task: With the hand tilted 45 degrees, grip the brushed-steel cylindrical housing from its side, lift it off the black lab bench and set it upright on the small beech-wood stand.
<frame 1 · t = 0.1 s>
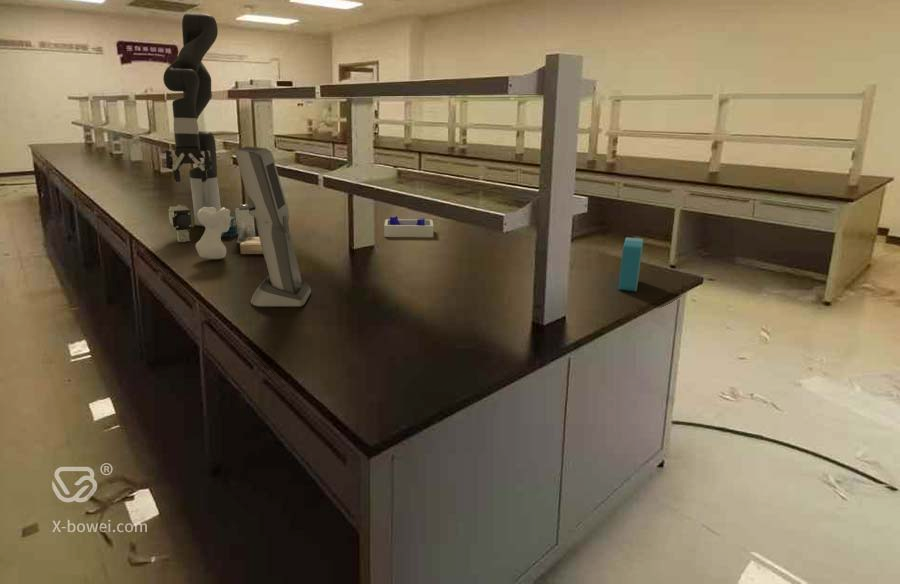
hand: (191, 182, 197), 17 cm above the worktop, tool pointing down, fingers open, 8 cm apart
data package: (628, 286, 154), on the worktop
pneumatic valve: (182, 242, 190), on the worktop
cable clip: (408, 234, 208), resting in clip tray
puzzle: (228, 235, 200), on the worktop
white lobed block: (218, 259, 171), on the worktop
stand: (261, 249, 181), on the worktop
housing: (247, 242, 190), on the worktop
clip tray: (408, 233, 207), on the worktop
thermal camera: (283, 300, 138), on the worktop
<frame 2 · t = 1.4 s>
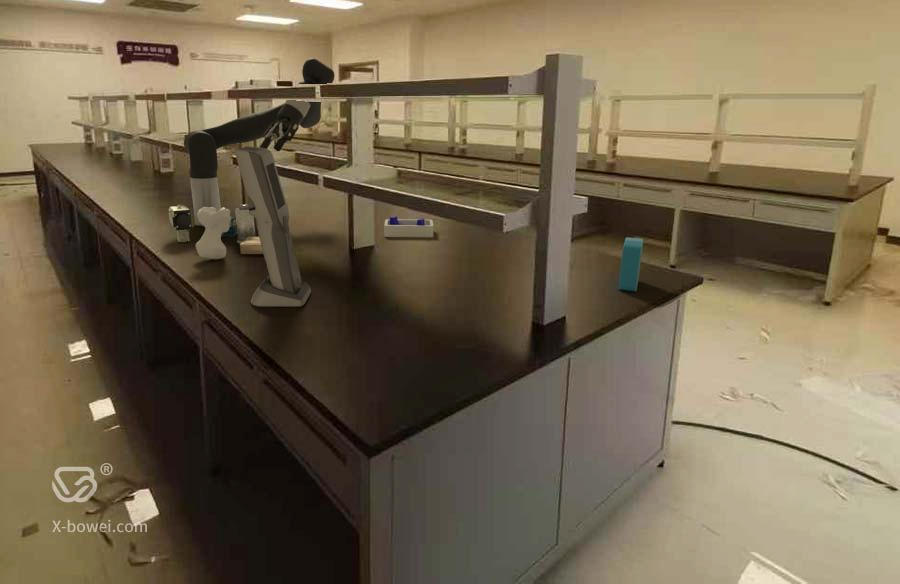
hand: (268, 149, 188), 29 cm above the worktop, tool tilted 40°, fingers open, 8 cm apart
nothing on the worktop moved.
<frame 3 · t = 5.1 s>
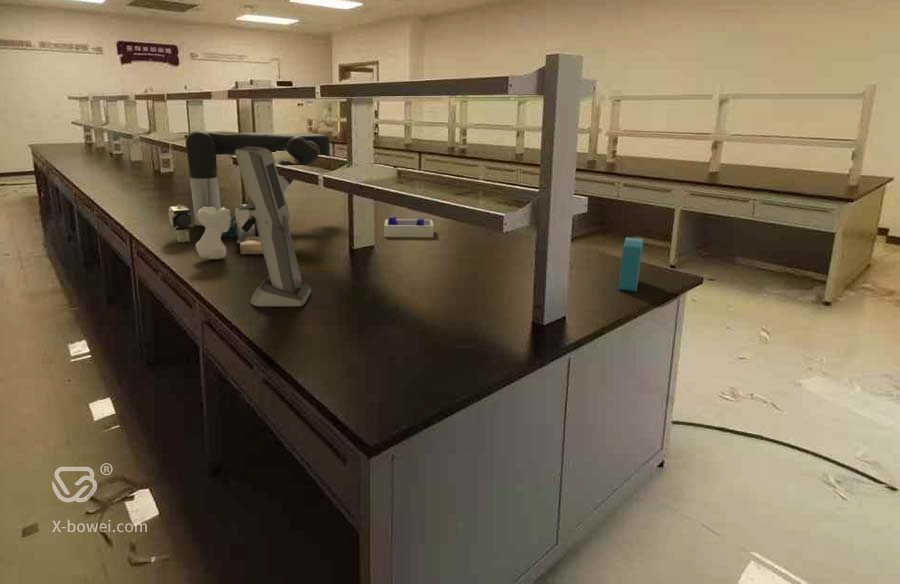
hand: (240, 228, 188), 5 cm above the worktop, tool tilted 45°, fingers closed on housing, 5 cm apart
housing: (246, 242, 190), on the worktop, touching gripper
everything else where it was.
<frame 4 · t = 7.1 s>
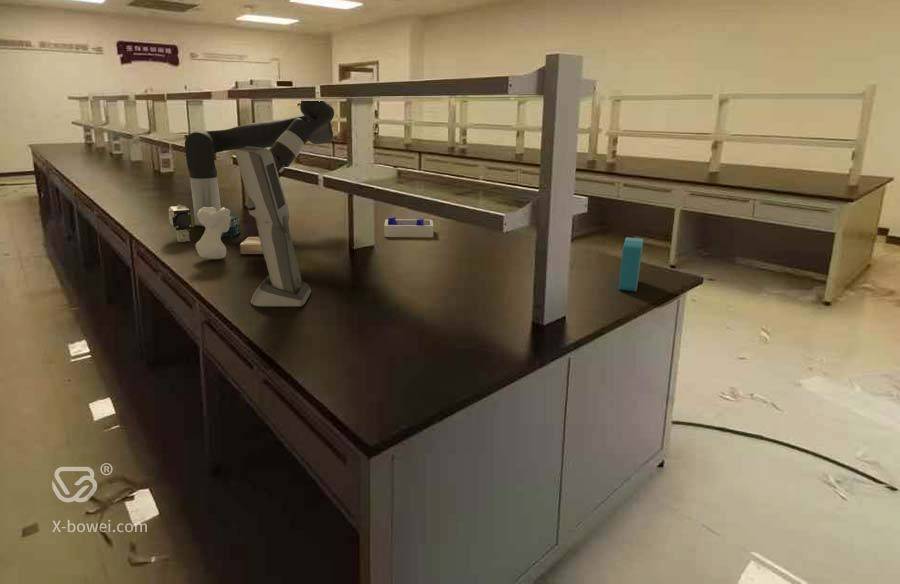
hand: (253, 190, 177), 18 cm above the worktop, tool tilted 45°, fingers closed on housing, 5 cm apart
housing: (260, 205, 179), point 13 cm above the worktop, touching gripper
everything else where it was.
when the fingers open (9 cm above the worktop, at t = 9.5 s): housing drops 1 cm, resting on stand.
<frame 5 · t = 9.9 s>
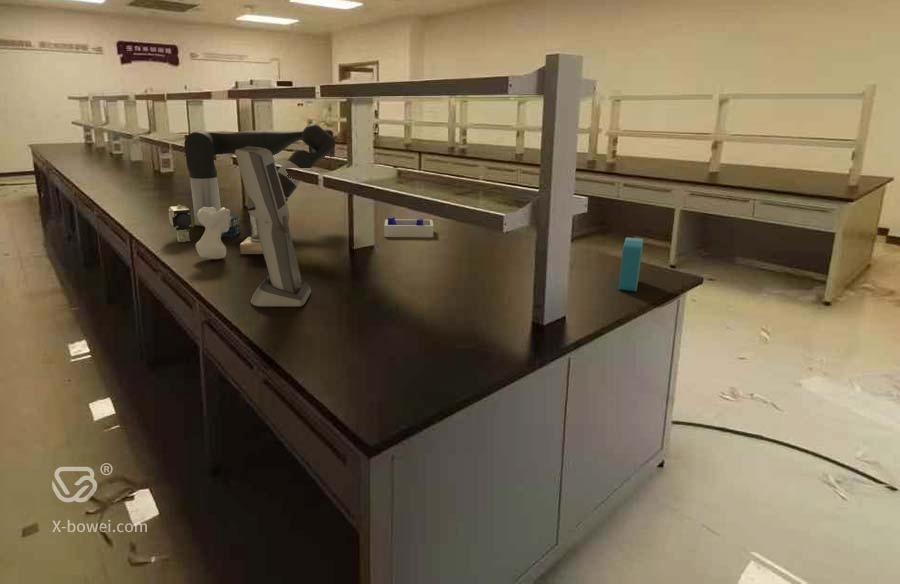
hand: (254, 219, 177), 10 cm above the worktop, tool tilted 45°, fingers open, 8 cm apart
housing: (261, 239, 181), point 3 cm above the worktop, touching stand
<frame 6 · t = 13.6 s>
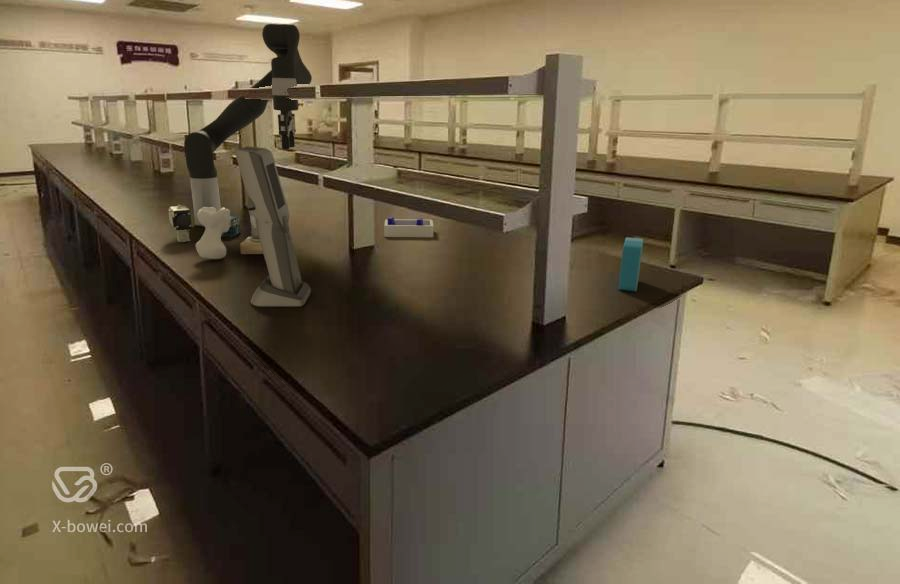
hand: (288, 148, 184), 30 cm above the worktop, tool pointing down, fingers open, 8 cm apart
at the end: housing inside the target area on the stand (0.2 cm from its centre), point 3.1 cm above the stand's base; housing tilted 0°; the gripper is holding nothing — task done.
